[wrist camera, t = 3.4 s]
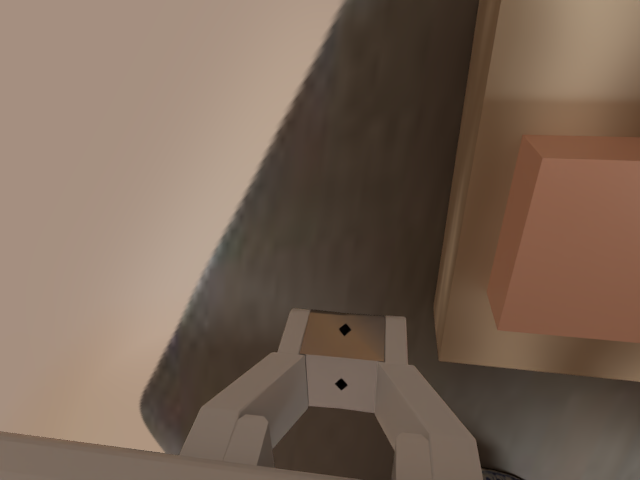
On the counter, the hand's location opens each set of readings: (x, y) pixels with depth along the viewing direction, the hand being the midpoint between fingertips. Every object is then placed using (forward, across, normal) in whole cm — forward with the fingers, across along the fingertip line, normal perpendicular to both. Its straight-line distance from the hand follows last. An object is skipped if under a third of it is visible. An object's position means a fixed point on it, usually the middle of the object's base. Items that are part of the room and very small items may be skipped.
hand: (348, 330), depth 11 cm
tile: (+7, +10, 0) cm, 12 cm away
